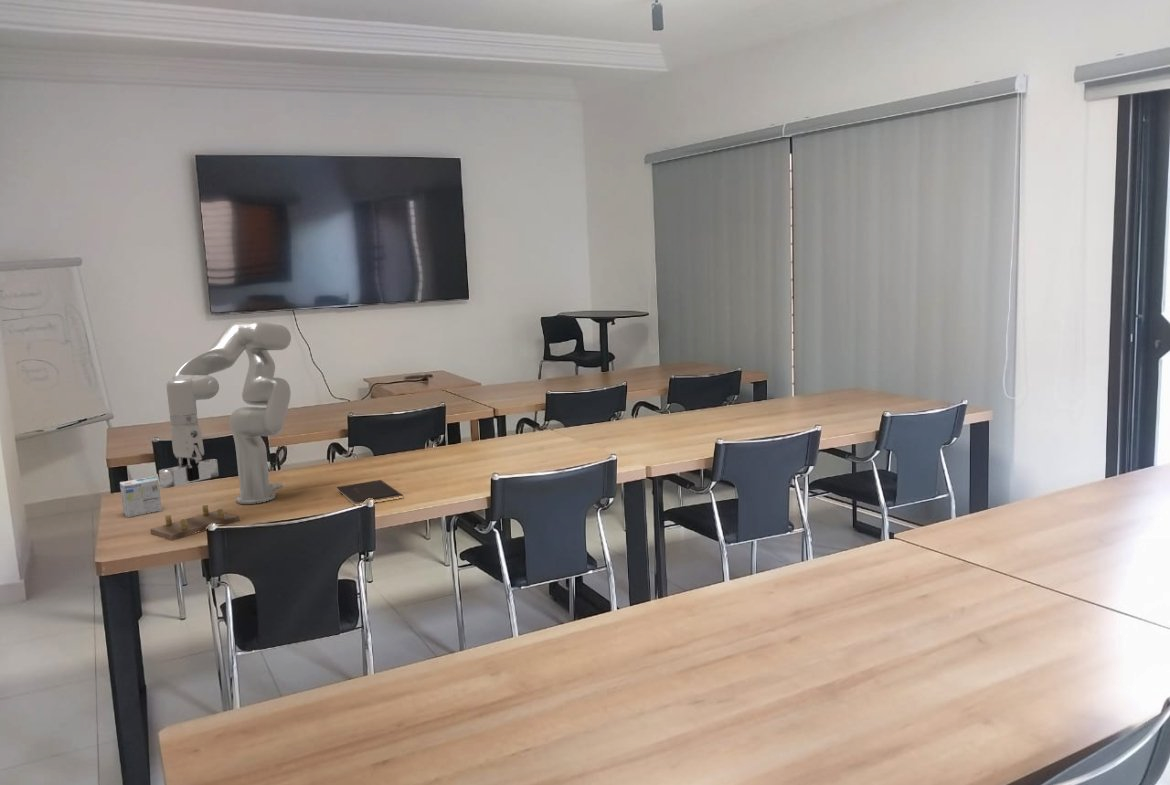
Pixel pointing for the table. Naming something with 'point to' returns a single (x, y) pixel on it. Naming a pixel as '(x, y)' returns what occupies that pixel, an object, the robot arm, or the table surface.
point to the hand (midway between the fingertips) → (190, 478)
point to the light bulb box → (140, 496)
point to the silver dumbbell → (180, 473)
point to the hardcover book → (368, 491)
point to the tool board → (193, 523)
